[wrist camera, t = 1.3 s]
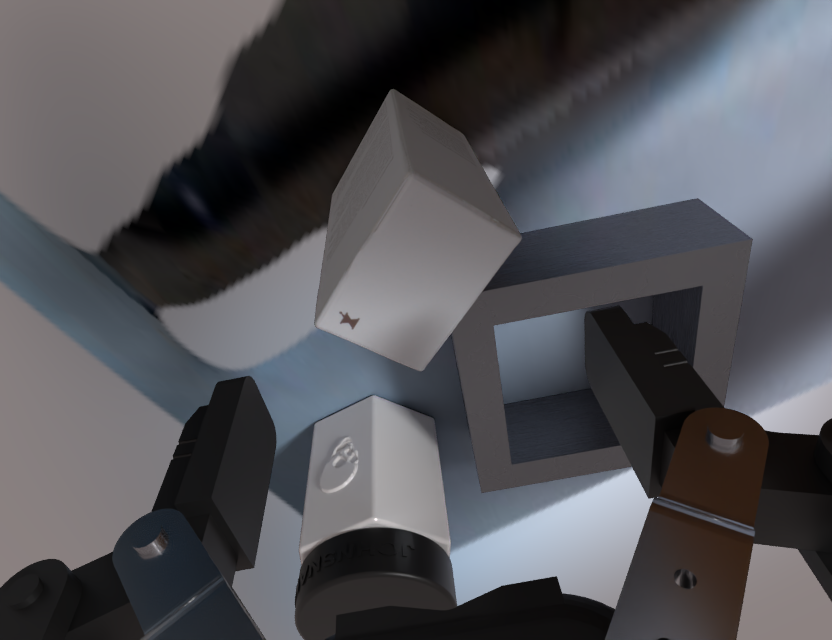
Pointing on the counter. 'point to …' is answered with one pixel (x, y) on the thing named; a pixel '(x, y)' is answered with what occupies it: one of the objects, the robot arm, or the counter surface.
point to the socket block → (586, 287)
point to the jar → (372, 517)
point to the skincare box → (410, 236)
